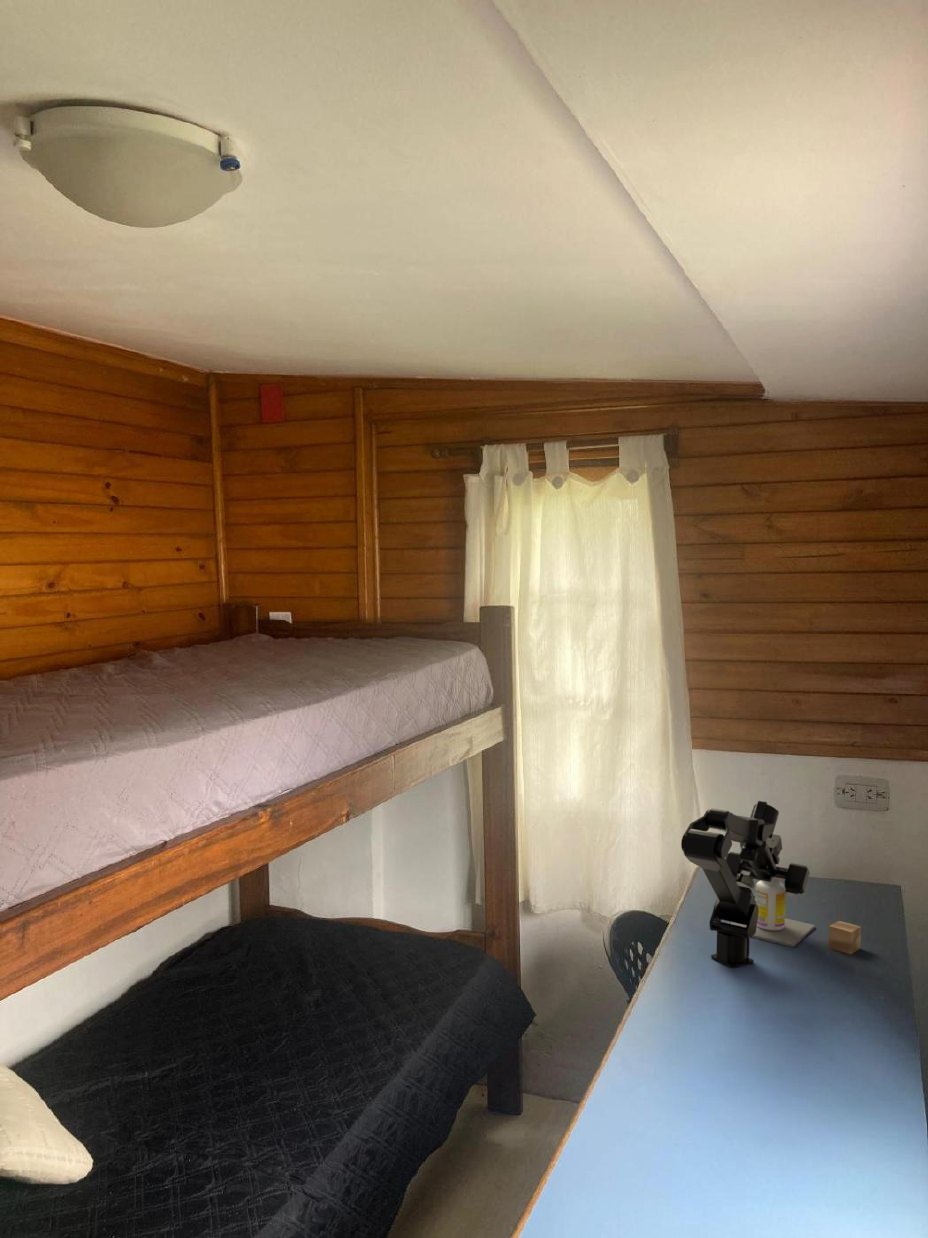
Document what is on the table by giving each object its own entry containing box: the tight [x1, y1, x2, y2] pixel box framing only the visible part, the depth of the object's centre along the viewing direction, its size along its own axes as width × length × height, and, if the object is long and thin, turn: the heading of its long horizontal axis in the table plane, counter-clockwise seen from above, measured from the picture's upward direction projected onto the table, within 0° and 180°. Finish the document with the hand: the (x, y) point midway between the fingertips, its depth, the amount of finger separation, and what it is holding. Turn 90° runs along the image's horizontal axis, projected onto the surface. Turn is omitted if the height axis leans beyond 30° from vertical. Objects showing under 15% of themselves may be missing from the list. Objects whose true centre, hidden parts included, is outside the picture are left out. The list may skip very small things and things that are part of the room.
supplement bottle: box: [754, 877, 786, 931], centre depth 221 cm, size 7×7×13 cm
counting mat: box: [729, 917, 816, 948], centre depth 221 cm, size 16×16×1 cm
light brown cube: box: [827, 920, 862, 955], centre depth 210 cm, size 5×5×5 cm
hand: (772, 891), depth 222 cm, fingers open, 9 cm apart
